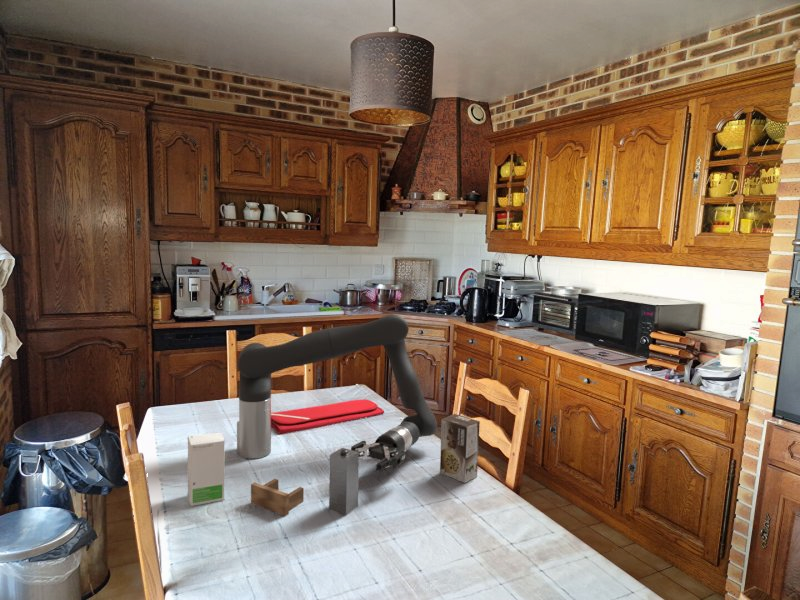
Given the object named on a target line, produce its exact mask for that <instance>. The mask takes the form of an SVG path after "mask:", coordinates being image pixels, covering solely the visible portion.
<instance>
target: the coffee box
mask: <svg viewBox="0 0 800 600" xmlns="http://www.w3.org/2000/svg"><path fill="white" fill-rule="evenodd" d="M440 421H441V422H440V423H441V425H440V427H441V428H440V457H439V458H440V460H439V461H440V462H439V473H440V474H442V475H444V476H447V477H450V478H452V479H454V480H457V481H459V482H461V483H468V482H470V481H471V480H473V479H475V478H477V477H478V469H479V468H478V467H479V466H478V464H479V463H478V462H479V443H480V441H479V440H480V426H481V425H480V424H481V422H480V420H476V419H473V418H469V417H466V416H463V415H460V414H457V413H453V414H451V415H448V416H446V417H444V418H443V417H442V418H441V420H440Z"/></svg>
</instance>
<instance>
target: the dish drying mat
mask: <svg viewBox="0 0 800 600" xmlns="http://www.w3.org/2000/svg"><path fill="white" fill-rule="evenodd" d="M383 413H384V414H385V411H384V409H382V408H381V407H380V406H379V405H378V404H377V403H376V402H374V401H372V400H369V399H352V400H345V401H341V402H336V403H330V404H325V405H317V406H310V407H303V408H296V409H289V410H282V411H277V412H271V429H274V430H275V431H276V432H277V433H278V434H279V435H284V434H289V433H295V432H296V431H297V432H300V431H306V430H312V429H316V428H322V426H323V427H326V426H327V425H328V426H332V424H333V425H337V423H338V424H341V422H343V423H346V422H347V421H348V422H352V421H351V420H353V421H356V419H357V420H361V419H360V418H363V419H366V418H365V417H367V418H371V417H370V416H372V417H375V416H374V415H377V416H380V415H379V414H381V415H384V414H383Z"/></svg>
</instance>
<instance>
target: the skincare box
mask: <svg viewBox="0 0 800 600" xmlns="http://www.w3.org/2000/svg"><path fill="white" fill-rule="evenodd" d="M186 438H187V498H188V502H189V506H190V507H191V506H192V507H194V506H198V505H204V504H208V503H214V502H221V501H225V456H226V455H225V449H226V448H225V445H226V444H225V442H226V441H225V438H224V435H223V433H222V432H215V433H214V432H213V433H201V434H194V435H188V436H187V437H186Z"/></svg>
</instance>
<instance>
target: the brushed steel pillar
mask: <svg viewBox="0 0 800 600" xmlns="http://www.w3.org/2000/svg"><path fill="white" fill-rule="evenodd" d="M359 460H360V459H359V452H356V451H352V450H351V449H349V448H344V447H341V448H339V449H337V450H336V451H333V452H332V453H331V454H329V489H328V490H329V492H328V493H329V496H328V497H329V498H328V501H329V502H328V504H329V505H328V507H329V509H328V511H332V512H335V513H337V514H340V515H344V516H348V515H349V514H350V513H352V512H353V511H354V510H355V509H356V508H358V506H359V466H360V465H359V464H360V463H359V462H360V461H359Z"/></svg>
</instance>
